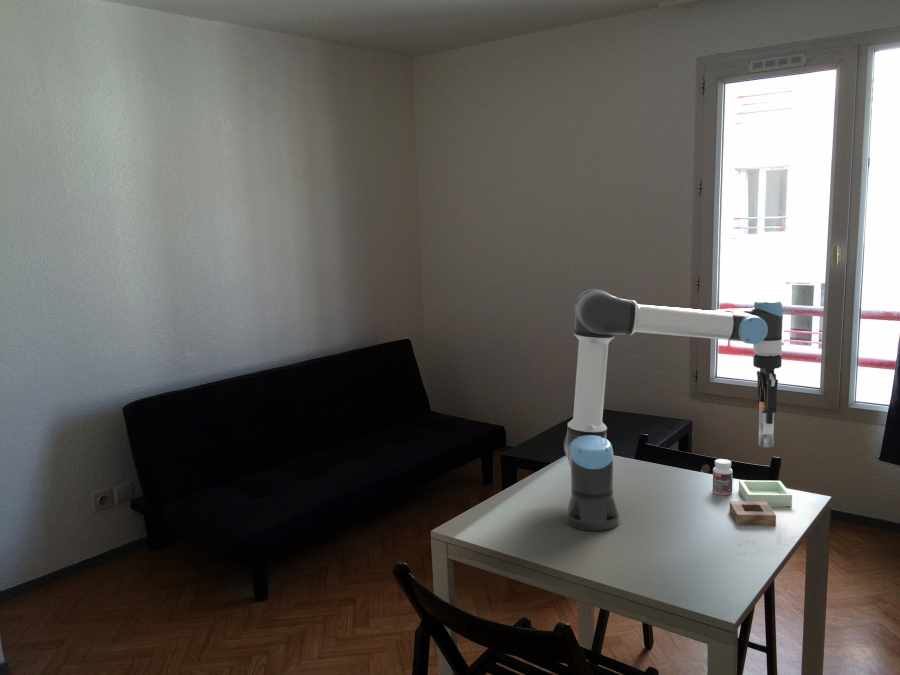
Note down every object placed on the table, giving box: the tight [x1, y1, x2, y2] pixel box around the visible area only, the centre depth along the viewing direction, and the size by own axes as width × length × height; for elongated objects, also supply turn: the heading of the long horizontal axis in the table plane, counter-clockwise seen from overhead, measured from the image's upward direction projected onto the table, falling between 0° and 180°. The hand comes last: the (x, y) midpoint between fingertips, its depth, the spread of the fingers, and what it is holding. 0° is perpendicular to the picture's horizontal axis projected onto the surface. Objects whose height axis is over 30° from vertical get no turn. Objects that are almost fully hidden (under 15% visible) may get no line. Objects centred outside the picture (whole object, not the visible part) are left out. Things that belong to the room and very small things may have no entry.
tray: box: [738, 479, 793, 508], centre depth 217 cm, size 12×12×4 cm
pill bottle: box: [712, 458, 734, 496], centre depth 224 cm, size 6×6×10 cm
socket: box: [728, 500, 777, 527], centre depth 204 cm, size 10×10×3 cm
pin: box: [758, 401, 775, 448], centre depth 214 cm, size 4×4×13 cm
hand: (766, 431), depth 214 cm, fingers closed on pin, 4 cm apart
